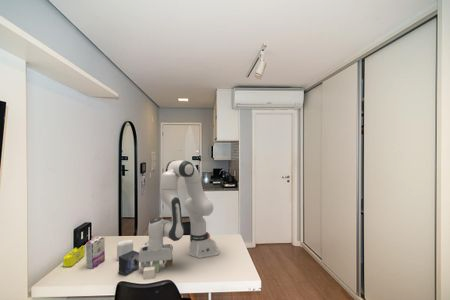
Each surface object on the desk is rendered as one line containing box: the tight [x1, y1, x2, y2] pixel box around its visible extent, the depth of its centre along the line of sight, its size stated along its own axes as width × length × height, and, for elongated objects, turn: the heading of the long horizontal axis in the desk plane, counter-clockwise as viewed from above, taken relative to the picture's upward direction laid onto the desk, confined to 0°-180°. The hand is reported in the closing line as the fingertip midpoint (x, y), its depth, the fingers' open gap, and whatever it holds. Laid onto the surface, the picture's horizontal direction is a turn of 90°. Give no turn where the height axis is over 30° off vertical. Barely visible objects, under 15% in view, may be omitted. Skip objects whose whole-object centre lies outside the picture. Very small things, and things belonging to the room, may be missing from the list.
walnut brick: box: [162, 254, 174, 267], centre depth 153 cm, size 4×6×5 cm, turn 101°
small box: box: [117, 249, 140, 277], centre depth 144 cm, size 11×6×10 cm, turn 151°
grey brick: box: [140, 261, 151, 269], centre depth 151 cm, size 4×6×5 cm, turn 41°
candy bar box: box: [85, 235, 106, 270], centre depth 153 cm, size 11×5×16 cm, turn 170°
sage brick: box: [151, 261, 161, 274], centre depth 145 cm, size 4×6×5 cm, turn 11°
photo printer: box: [116, 239, 134, 262], centre depth 161 cm, size 10×4×12 cm, turn 123°
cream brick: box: [142, 266, 156, 280], centre depth 138 cm, size 4×6×5 cm, turn 101°
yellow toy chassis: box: [62, 245, 86, 268], centre depth 157 cm, size 16×6×8 cm, turn 4°
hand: (155, 267), depth 145 cm, fingers open, 8 cm apart
